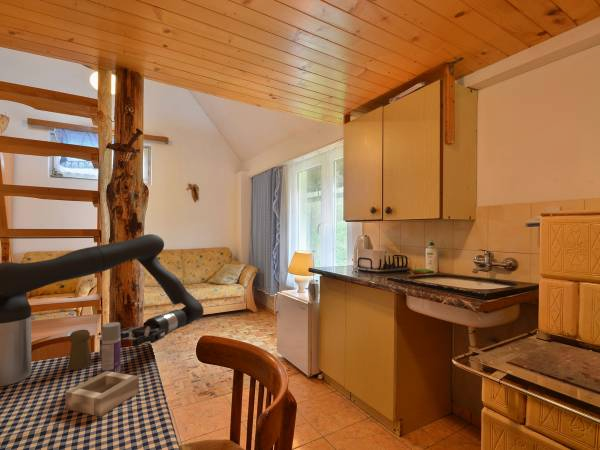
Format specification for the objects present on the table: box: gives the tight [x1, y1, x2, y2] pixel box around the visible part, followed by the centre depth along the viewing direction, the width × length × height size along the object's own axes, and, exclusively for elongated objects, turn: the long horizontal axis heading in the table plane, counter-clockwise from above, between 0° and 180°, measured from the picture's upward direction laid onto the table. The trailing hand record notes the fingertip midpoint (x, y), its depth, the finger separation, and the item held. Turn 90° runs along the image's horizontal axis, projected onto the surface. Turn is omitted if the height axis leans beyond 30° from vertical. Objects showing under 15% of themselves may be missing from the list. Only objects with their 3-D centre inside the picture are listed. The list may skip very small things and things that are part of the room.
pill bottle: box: [99, 330, 102, 358], centre depth 103 cm, size 5×5×8 cm
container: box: [101, 321, 122, 373], centre depth 89 cm, size 5×5×15 cm
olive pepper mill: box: [67, 329, 92, 371], centre depth 95 cm, size 6×6×11 cm
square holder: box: [64, 371, 140, 417], centre depth 77 cm, size 11×11×4 cm
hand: (122, 342), depth 93 cm, fingers open, 8 cm apart
